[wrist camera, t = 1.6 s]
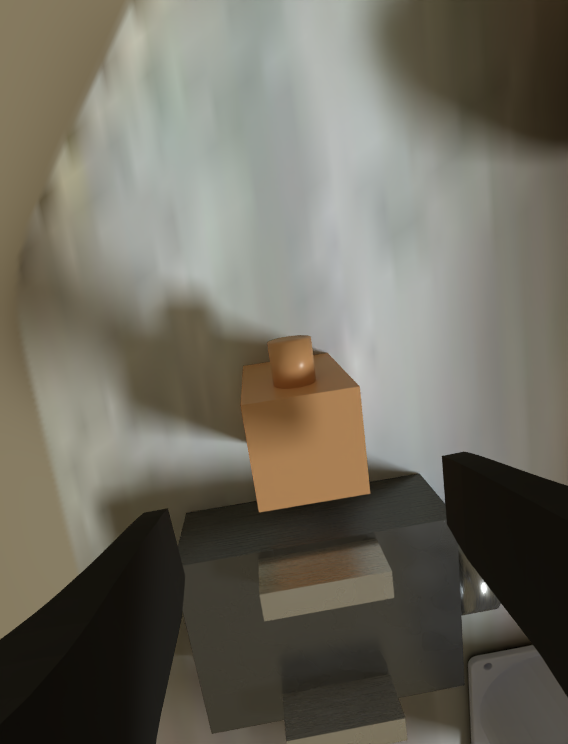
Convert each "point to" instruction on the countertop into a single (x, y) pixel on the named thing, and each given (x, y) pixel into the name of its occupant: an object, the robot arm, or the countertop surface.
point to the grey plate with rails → (327, 611)
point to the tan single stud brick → (303, 427)
